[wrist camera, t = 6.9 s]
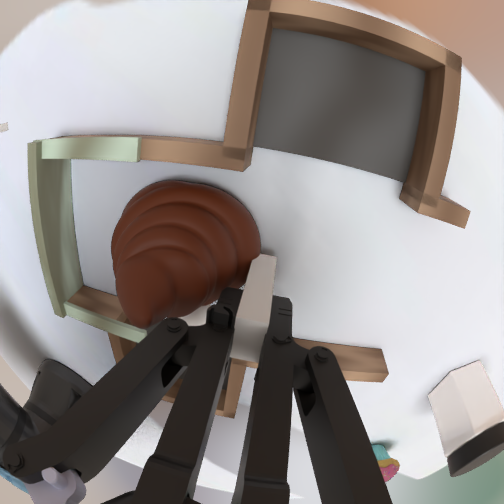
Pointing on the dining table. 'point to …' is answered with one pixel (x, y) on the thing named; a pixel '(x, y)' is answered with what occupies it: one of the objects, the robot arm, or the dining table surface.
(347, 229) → the dining table surface
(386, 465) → the cupcake
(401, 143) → the box
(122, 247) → the poop emoji
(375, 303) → the dining table surface
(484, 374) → the jar
